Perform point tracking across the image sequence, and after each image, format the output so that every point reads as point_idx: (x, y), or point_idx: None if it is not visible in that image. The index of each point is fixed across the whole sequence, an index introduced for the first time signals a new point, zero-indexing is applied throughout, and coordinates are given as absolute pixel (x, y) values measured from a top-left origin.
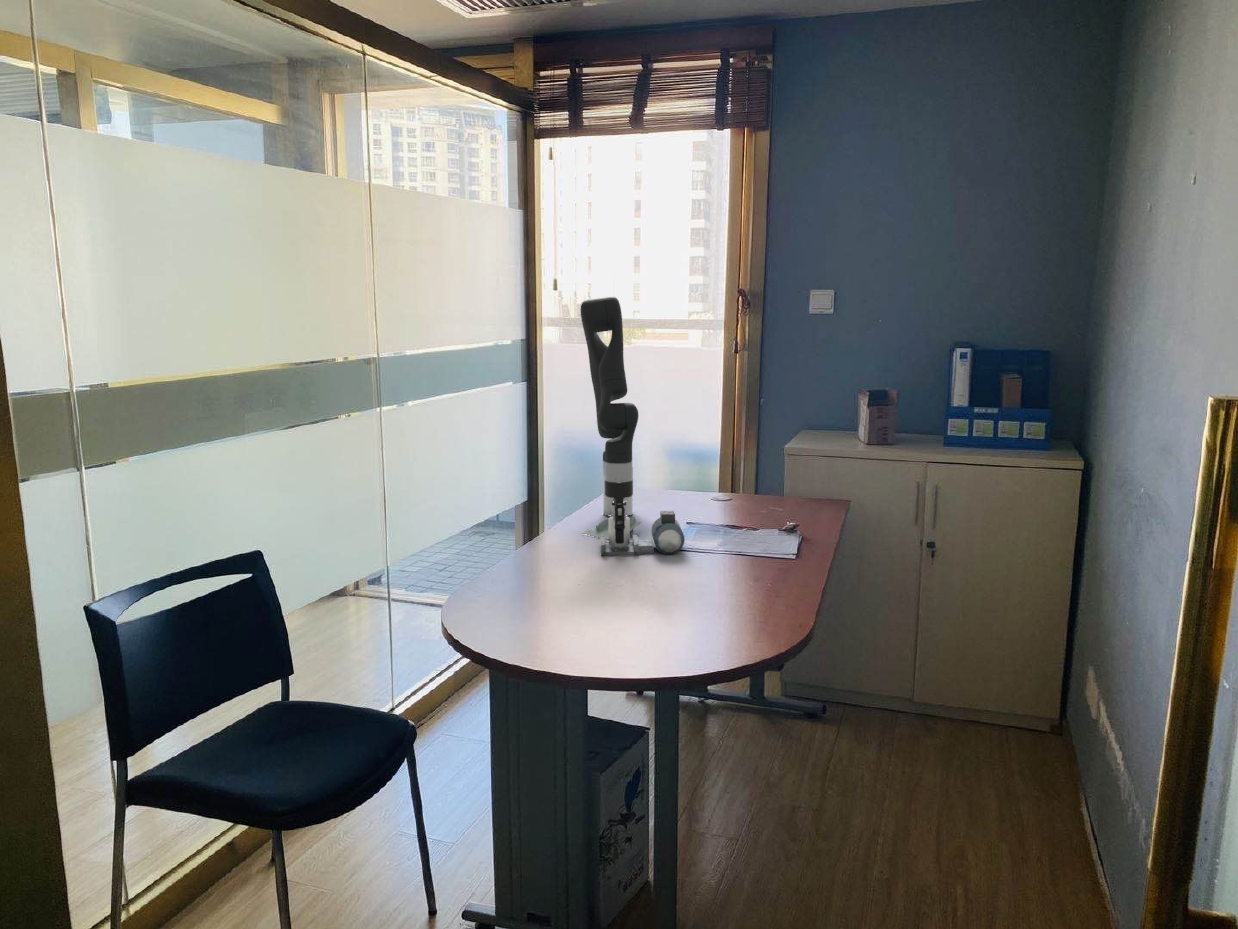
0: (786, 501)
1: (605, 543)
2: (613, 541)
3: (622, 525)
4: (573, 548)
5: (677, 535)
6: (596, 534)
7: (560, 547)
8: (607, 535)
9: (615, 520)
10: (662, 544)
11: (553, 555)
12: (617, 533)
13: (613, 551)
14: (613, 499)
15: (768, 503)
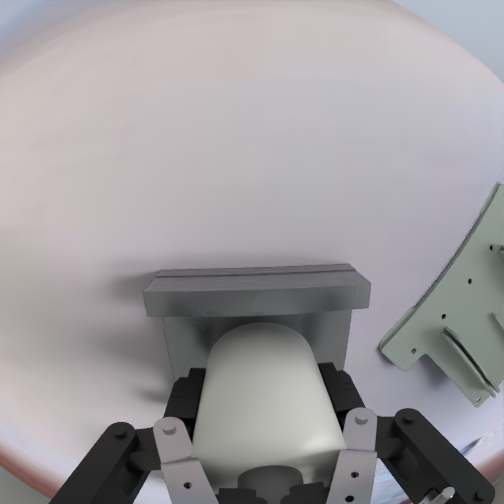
0: None
1: (174, 316)
2: (211, 358)
3: (123, 466)
4: (311, 122)
5: None
6: (482, 243)
7: (329, 64)
8: (459, 291)
9: (80, 465)
10: None
11: (184, 41)
12: (166, 411)
13: (175, 334)
14: (479, 498)
15: (486, 478)
